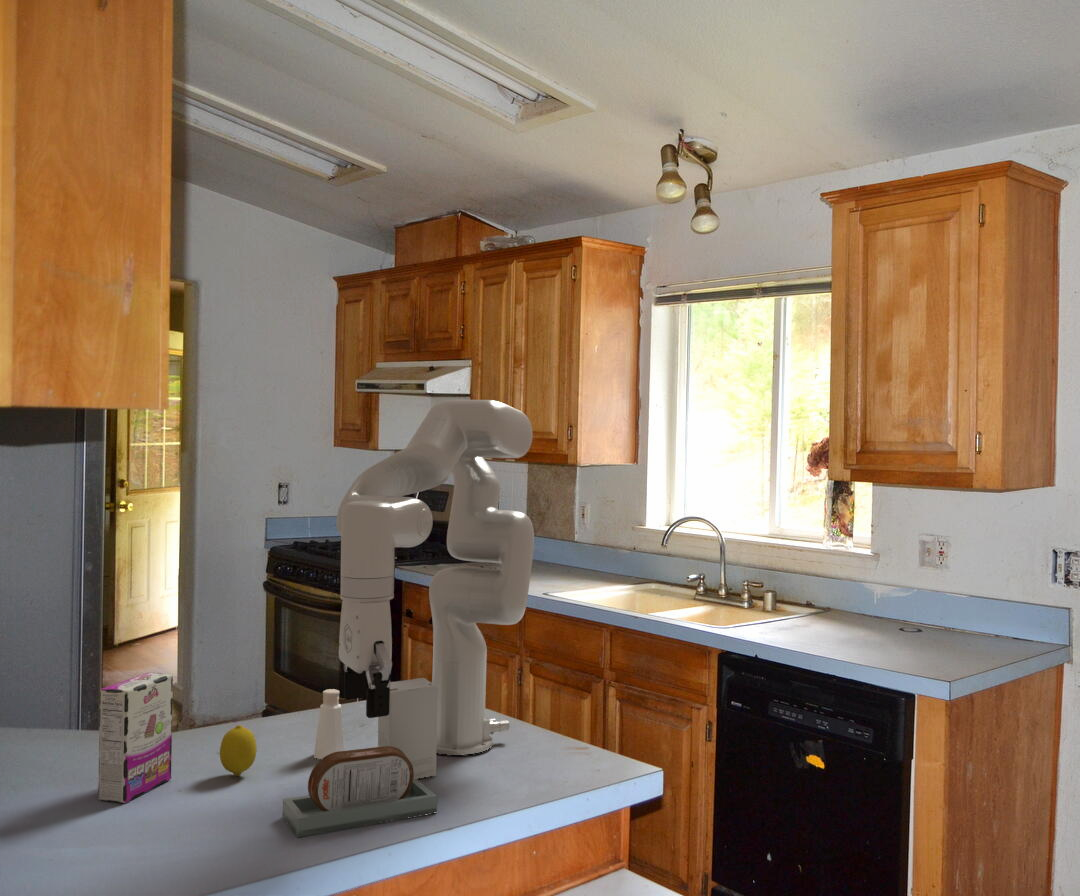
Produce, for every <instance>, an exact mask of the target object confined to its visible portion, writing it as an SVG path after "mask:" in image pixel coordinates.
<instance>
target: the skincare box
mask: <svg viewBox="0 0 1080 896" xmlns="http://www.w3.org/2000/svg"><path fill="white" fill-rule="evenodd" d="M390 683H391V686H390V707H389V715H387V716H382V717H377V718H378V719H377V724H378V725H377V733H378V734H377V747H382V746H393V747H396V748H398V749H400V750H401V751H402V752H403V753H404V754H405V755H406V757H407V758H408V759H409V760H410V762H411V764H412V766H413V771H414V778H413V779H417V780H419V778H420V779H425V778H424V777H426V778H430V776H432V777H435V776H437V754H436V747H437V689H438V686H436V685H435V684H433V683H432V681H430V680H428V679H427V678H425V677H420V678H413V679H406V680H397V681H390Z"/></svg>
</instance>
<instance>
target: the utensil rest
mask: <svg viewBox="0 0 1080 896" xmlns="http://www.w3.org/2000/svg"><path fill="white" fill-rule="evenodd" d="M437 808H438V795H436V794H435V792H433V791H432V790H430V789H429V788H428V787H426V785H424V784H423V783H421V781H420V780H419V779H413V783H412V786H411V789H410V791H409V792H408V794H407V795H406V797H405V798H404V799H399V800H392V801H386V802H380V803H374V804H368V805H362V806H355V807H349V808H343V809H337V810H331V811H324V812H323V811H322V810H321V809H320V808H319V807H318V806H317V805H316V804H315V803H314V802H313V801H312V799H311V798H310V795H309V794H307V795H302V796H296V797H289V798H282V813H281V814H282V815H281V816H282V817H281V818H282V819H283V820H284V819H285V820H284V821H285V822H287V823H288V824H287V823H286V824H287V825H288V827H289V826H290V827H289V828H290V829H291V831H292V830H293V831H292V832H293V834H294V835H295V836H296V837H297V838H303V837H309V836H314V835H319V834H325V833H332V832H336V831H337V830H338V831H343V830H349V828H350V829H354V827H355V828H359V827H360V826H361V827H366V826H365V825H367V826H372V825H371V824H373V825H377V824H376V823H379V824H381V823H380V822H384V823H387V822H386V821H390V822H392V821H391V820H396V821H398V820H397V819H402V820H405V819H404V818H407V819H409V818H408V817H413V818H415V817H414V816H419V815H425V814H429V813H434V812H437V811H438V809H437ZM425 816H426V815H425ZM419 817H420V816H419ZM331 831H332V832H331ZM338 831H337V832H338Z"/></svg>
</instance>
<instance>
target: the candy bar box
mask: <svg viewBox="0 0 1080 896" xmlns="http://www.w3.org/2000/svg"><path fill="white" fill-rule="evenodd" d="M173 677H174V674H169V673H162V672H160V673H159V672H146V673H143V674H141V675H137V676H135V677H132V678H129V679H126V680H123V681H119V682H117V683H114V684H112V685H108V686H106V687H103V688H100V689H99V724H98V725H99V731H98V733H99V734H98V735H99V745H98V787H97V788H98V789H97V790H98V793H97V794H98V796H97V799H98V801H101V800H104V801H103V802H106V801H111V802H110V803H116V802H117V803H118V804H127V803H129V802H131V801H133V800H135V799H137V798H138V797H141V796H143V795H144V794H146V793H148V792H150V791H151V790H154V789H155V788H157V787H159V786H161V785H162V784H165V783H166V782H168V781H170V780H171V779H172V750H173V749H172V748H173V747H172V745H173V744H172V743H173V741H172V740H173V738H172V737H173V688H174V687H173V686H174V685H173V684H174V683H173V681H174V680H173V679H174V678H173Z"/></svg>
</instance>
